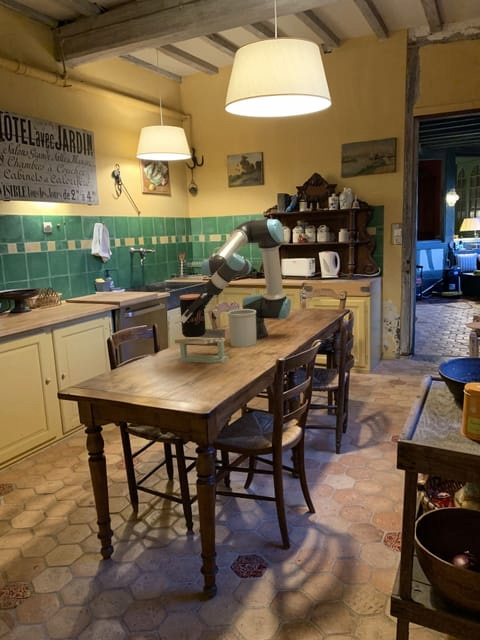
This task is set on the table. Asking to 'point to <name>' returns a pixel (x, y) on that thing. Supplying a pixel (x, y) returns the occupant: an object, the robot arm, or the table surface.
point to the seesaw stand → (203, 358)
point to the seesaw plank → (205, 338)
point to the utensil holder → (242, 327)
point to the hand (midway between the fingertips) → (187, 318)
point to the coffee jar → (192, 317)
